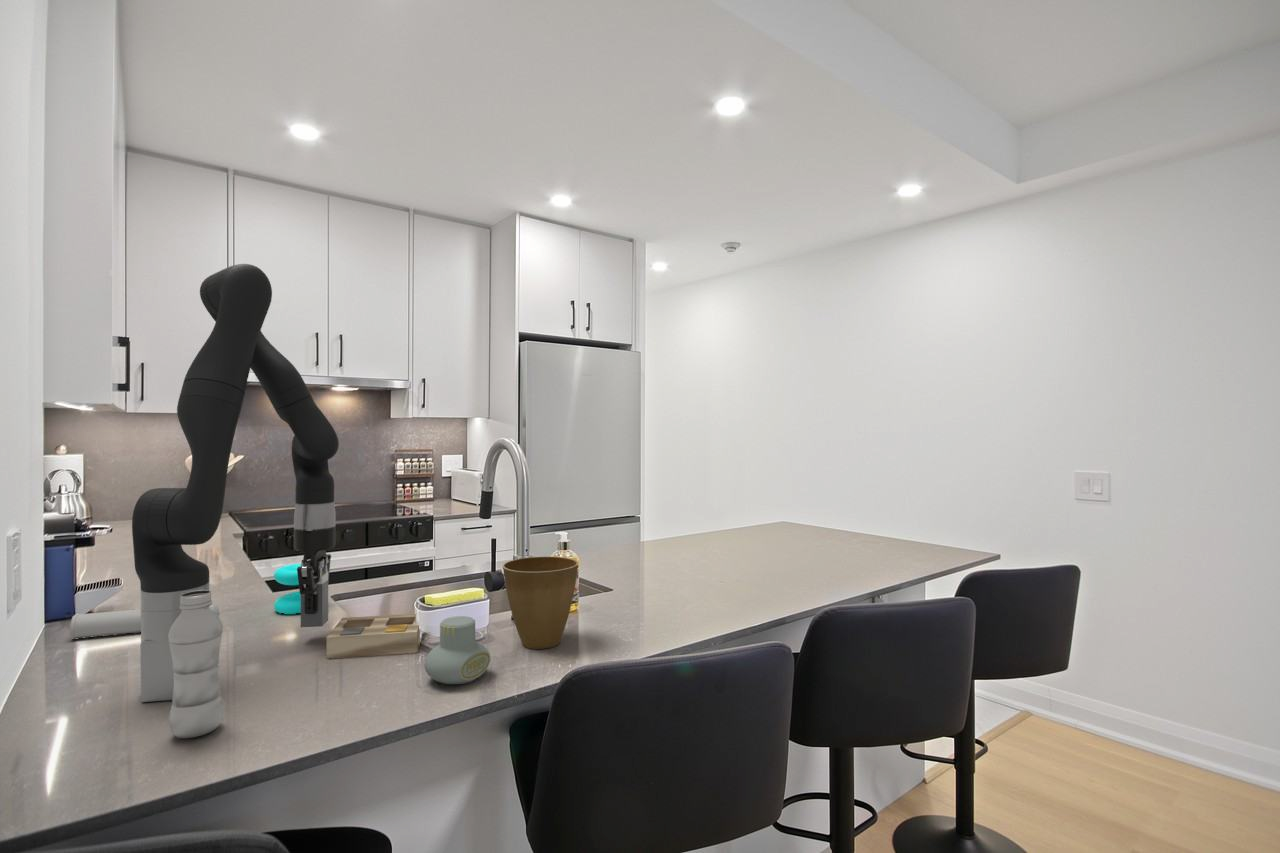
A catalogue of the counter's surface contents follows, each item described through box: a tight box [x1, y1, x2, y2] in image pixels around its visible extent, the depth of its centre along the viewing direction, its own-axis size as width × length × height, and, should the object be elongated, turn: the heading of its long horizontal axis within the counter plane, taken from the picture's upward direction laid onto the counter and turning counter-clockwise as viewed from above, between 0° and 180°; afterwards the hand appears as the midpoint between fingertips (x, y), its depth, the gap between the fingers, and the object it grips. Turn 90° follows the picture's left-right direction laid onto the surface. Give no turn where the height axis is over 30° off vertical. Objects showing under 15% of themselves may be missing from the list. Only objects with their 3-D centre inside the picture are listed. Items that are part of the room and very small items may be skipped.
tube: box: [69, 603, 220, 640], centre depth 137 cm, size 5×5×25 cm
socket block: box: [326, 613, 421, 660], centre depth 129 cm, size 12×16×4 cm
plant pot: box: [502, 555, 579, 650], centre depth 131 cm, size 15×15×16 cm
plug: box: [300, 572, 329, 628], centre depth 132 cm, size 4×4×10 cm
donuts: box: [273, 563, 301, 615], centre depth 153 cm, size 10×10×10 cm
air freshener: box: [424, 615, 491, 685], centre depth 113 cm, size 11×8×10 cm
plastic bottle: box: [168, 589, 225, 739], centre depth 93 cm, size 6×7×20 cm
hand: (314, 610), depth 132 cm, fingers closed on plug, 4 cm apart
